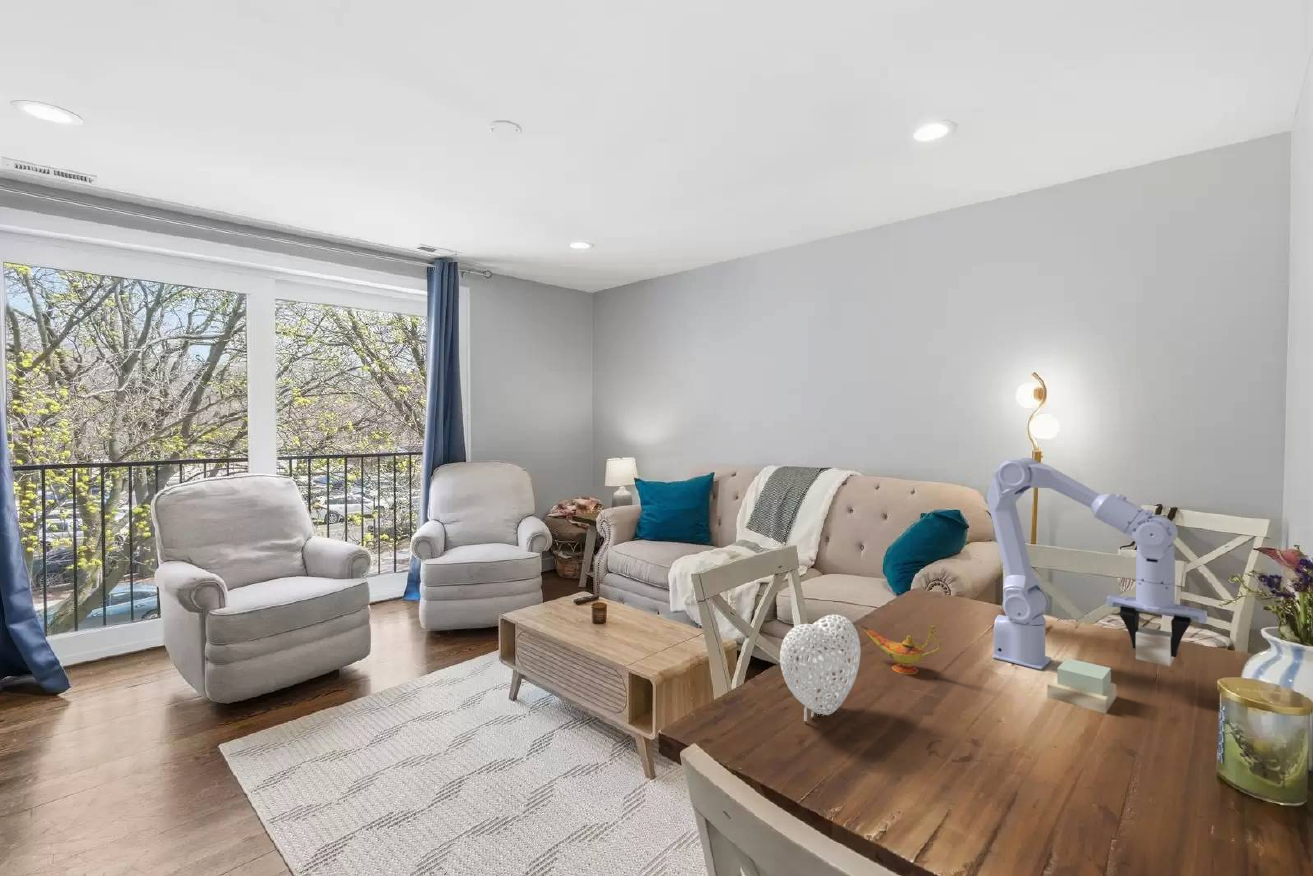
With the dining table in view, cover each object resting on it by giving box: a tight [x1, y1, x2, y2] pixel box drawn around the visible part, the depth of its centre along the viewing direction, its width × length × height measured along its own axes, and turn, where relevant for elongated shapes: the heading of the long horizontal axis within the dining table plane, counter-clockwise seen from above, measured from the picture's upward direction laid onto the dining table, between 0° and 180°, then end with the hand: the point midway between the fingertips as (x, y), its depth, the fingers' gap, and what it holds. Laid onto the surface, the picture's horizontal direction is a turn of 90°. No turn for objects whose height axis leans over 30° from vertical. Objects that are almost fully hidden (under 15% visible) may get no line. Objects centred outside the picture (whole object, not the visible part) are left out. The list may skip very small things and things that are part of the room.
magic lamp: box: [858, 625, 941, 675], centre depth 128 cm, size 7×18×11 cm, turn 41°
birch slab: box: [1046, 674, 1117, 714], centre depth 113 cm, size 9×9×3 cm
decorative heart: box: [779, 614, 862, 722], centre depth 108 cm, size 18×11×17 cm, turn 128°
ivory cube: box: [1135, 626, 1175, 667], centre depth 114 cm, size 5×5×5 cm
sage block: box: [1056, 657, 1112, 696], centre depth 113 cm, size 7×7×3 cm
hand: (1154, 651), depth 114 cm, fingers closed on ivory cube, 5 cm apart
